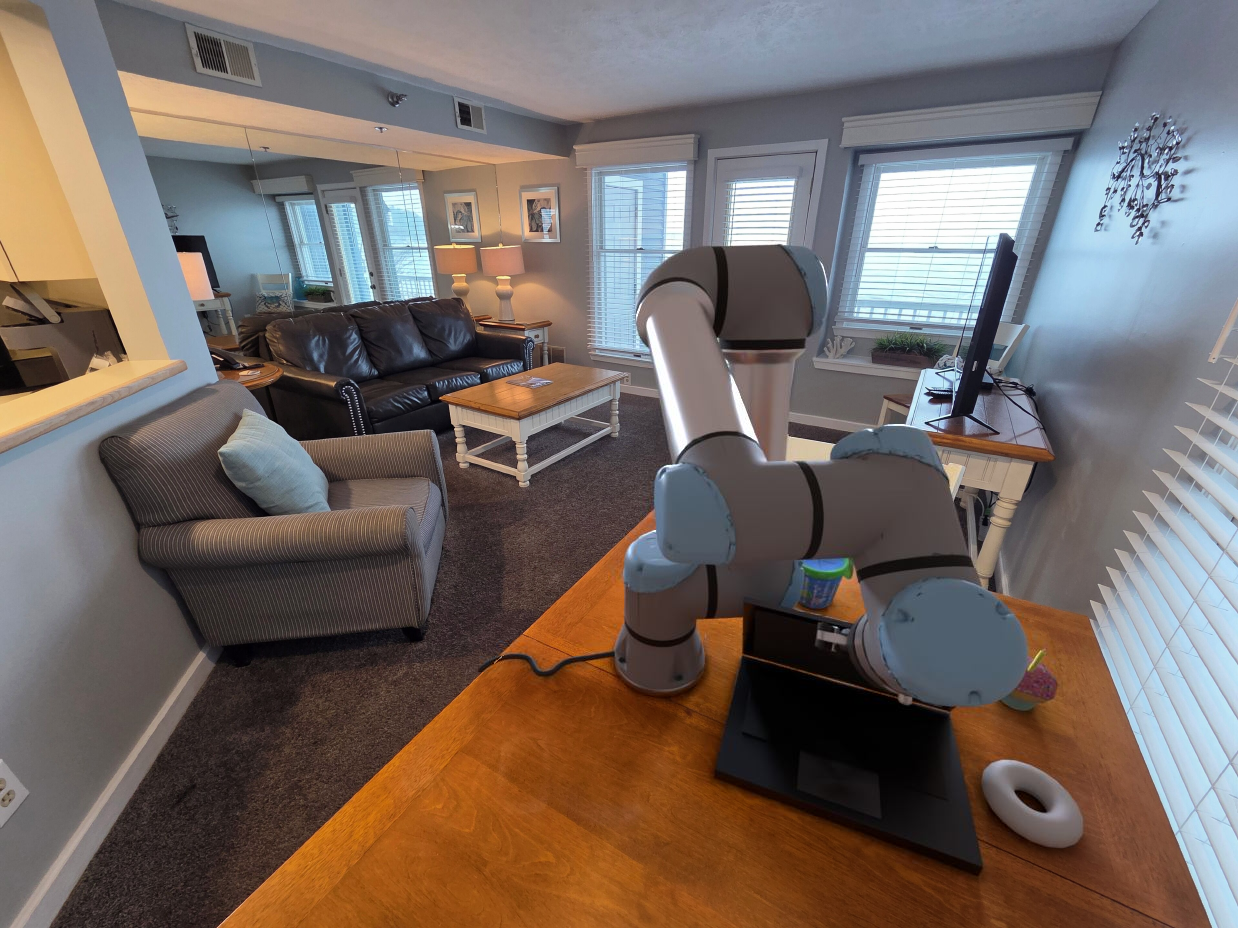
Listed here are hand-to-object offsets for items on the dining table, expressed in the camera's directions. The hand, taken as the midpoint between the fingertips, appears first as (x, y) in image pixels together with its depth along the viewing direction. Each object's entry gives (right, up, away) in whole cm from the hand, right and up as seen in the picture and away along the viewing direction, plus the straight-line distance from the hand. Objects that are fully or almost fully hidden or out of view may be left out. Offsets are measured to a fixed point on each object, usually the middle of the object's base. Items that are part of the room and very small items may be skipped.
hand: (858, 654), depth 64 cm
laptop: (0, -15, +6) cm, 16 cm away
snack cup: (+7, -2, +35) cm, 35 cm away
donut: (+20, -19, -2) cm, 28 cm away
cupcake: (+30, -12, +13) cm, 35 cm away
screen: (+2, -3, +6) cm, 7 cm away
